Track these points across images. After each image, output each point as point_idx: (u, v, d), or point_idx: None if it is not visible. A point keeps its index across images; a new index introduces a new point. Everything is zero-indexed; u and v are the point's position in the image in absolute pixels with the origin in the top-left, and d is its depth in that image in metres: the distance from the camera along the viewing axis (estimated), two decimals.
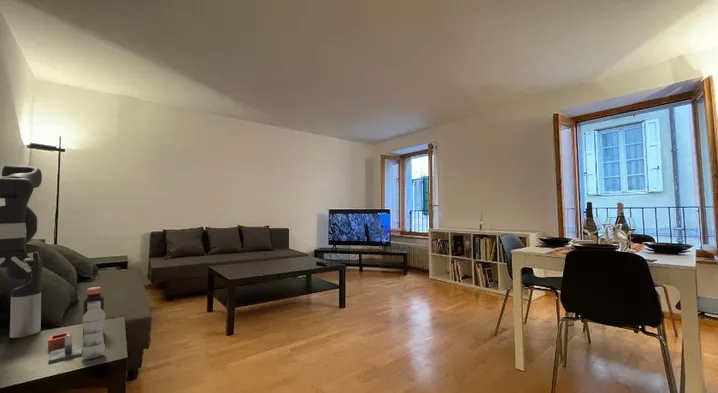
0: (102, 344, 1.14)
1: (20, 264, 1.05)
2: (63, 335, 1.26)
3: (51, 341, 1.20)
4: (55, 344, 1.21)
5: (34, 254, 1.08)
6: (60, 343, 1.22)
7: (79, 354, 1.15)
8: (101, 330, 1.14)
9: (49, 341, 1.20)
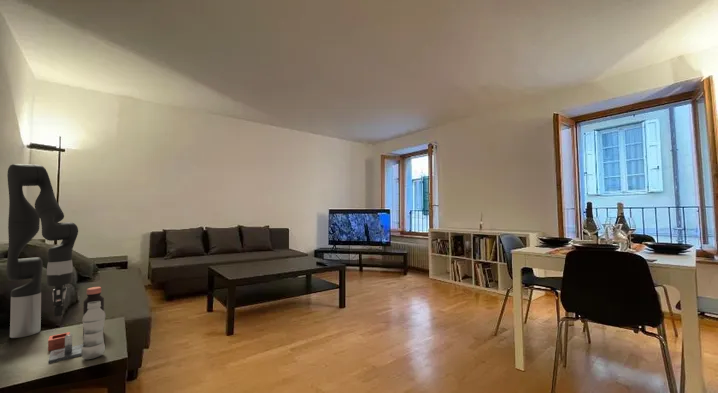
0: (102, 344, 1.14)
1: (65, 294, 1.27)
2: (63, 335, 1.26)
3: (51, 341, 1.20)
4: (55, 344, 1.21)
5: (64, 285, 1.30)
6: (60, 343, 1.22)
7: (79, 354, 1.15)
8: (101, 330, 1.14)
9: (49, 341, 1.20)
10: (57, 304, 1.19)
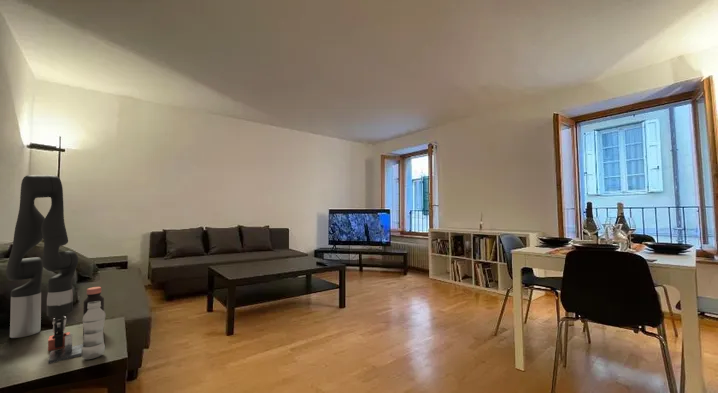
0: (102, 344, 1.14)
1: (65, 323, 1.27)
2: None
3: (51, 341, 1.20)
4: None
5: (64, 315, 1.29)
6: None
7: (79, 354, 1.15)
8: (101, 330, 1.14)
9: (49, 341, 1.20)
10: (58, 336, 1.19)
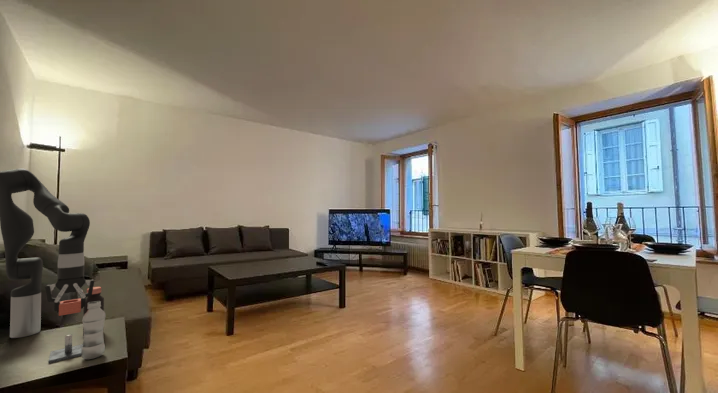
0: (102, 344, 1.14)
1: None
2: None
3: (80, 302, 1.18)
4: None
5: None
6: None
7: (79, 354, 1.15)
8: (101, 330, 1.14)
9: (80, 302, 1.18)
10: None
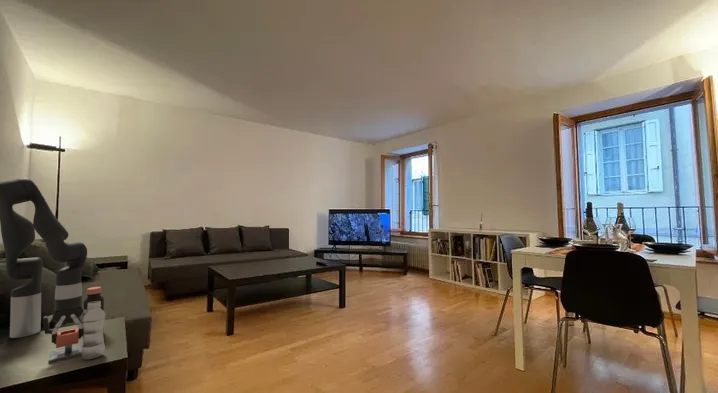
0: (102, 344, 1.14)
1: None
2: (60, 334, 1.16)
3: None
4: (78, 336, 1.18)
5: None
6: None
7: (79, 354, 1.15)
8: (101, 330, 1.14)
9: None
10: None
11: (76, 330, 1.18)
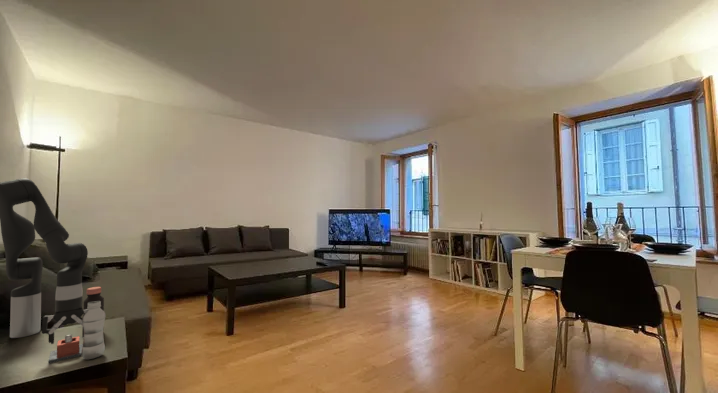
0: (102, 344, 1.14)
1: None
2: (61, 343, 1.16)
3: None
4: None
5: None
6: None
7: (79, 354, 1.15)
8: (101, 330, 1.14)
9: None
10: None
11: (77, 338, 1.19)
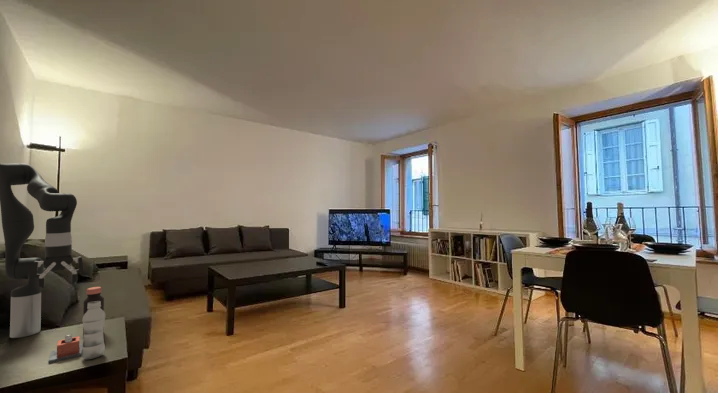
0: (102, 344, 1.14)
1: None
2: (61, 343, 1.16)
3: None
4: None
5: None
6: None
7: (79, 354, 1.15)
8: (101, 330, 1.14)
9: None
10: None
11: (77, 338, 1.19)
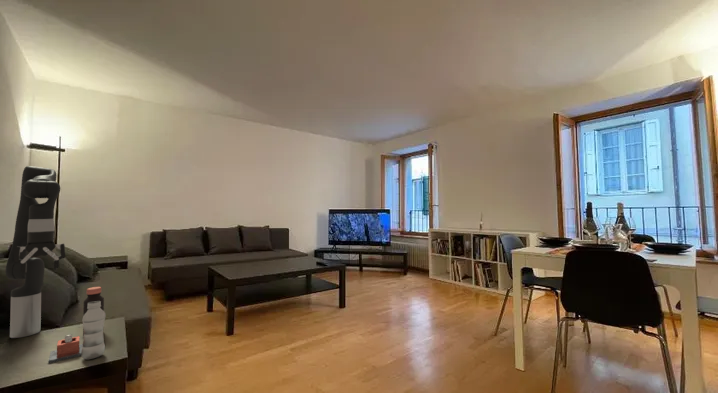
0: (102, 344, 1.14)
1: None
2: (61, 343, 1.16)
3: None
4: None
5: None
6: None
7: (79, 354, 1.15)
8: (101, 330, 1.14)
9: None
10: (64, 256, 1.29)
11: (77, 338, 1.19)
